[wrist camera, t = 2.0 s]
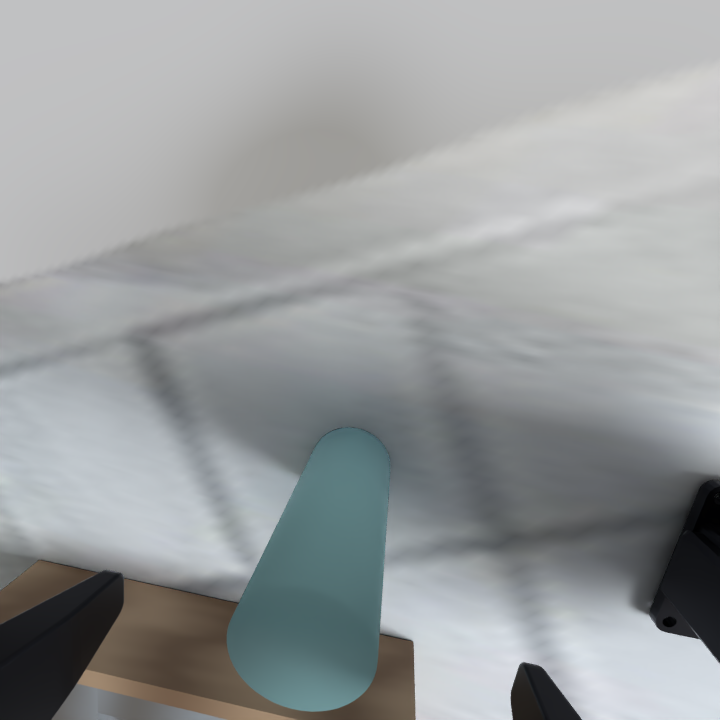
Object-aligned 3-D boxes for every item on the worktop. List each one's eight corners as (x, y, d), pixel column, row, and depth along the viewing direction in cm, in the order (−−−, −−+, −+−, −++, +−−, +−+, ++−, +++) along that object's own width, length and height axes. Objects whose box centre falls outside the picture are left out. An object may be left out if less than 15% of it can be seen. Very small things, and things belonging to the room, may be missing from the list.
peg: (396, 435, 15) (389, 605, 8) (383, 506, 16) (365, 725, 8) (316, 420, 16) (231, 572, 8) (307, 491, 16) (222, 692, 9)
